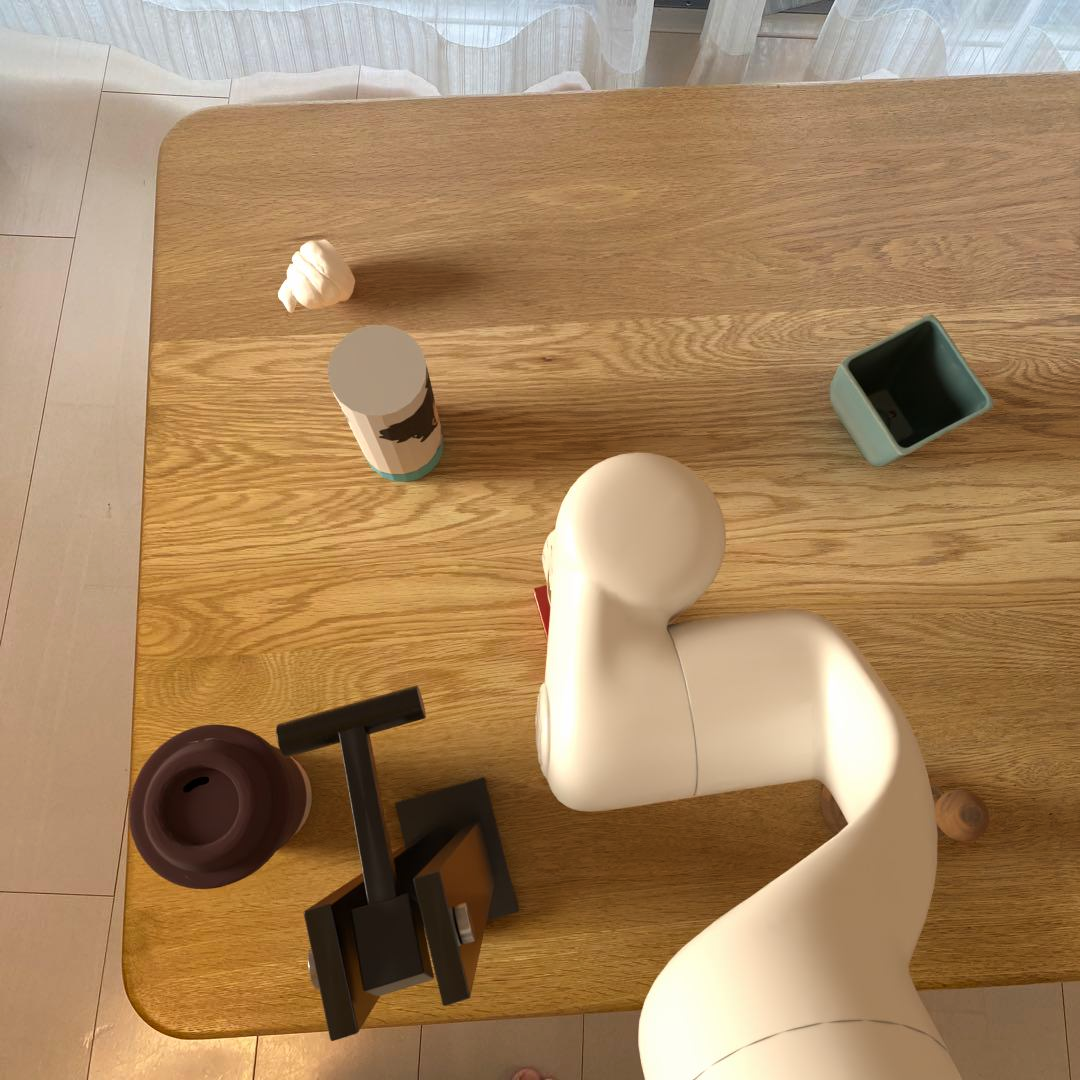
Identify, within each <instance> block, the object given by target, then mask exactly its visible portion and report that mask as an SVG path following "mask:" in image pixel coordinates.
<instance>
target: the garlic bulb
mask: <svg viewBox="0 0 1080 1080" xmlns="http://www.w3.org/2000/svg"><path fill="white" fill-rule="evenodd" d="M291 261H292V262H293V263H290V264H289V265H288V268H287V270H286V279H285V280H284V282H282V284H281V286H280V288H279V290H278V293H277V296H278V299H279V301H281V302H282V304H283V305H284V307H285V308H286V310H287V311H288V313H291V314H292V313H294V312H295V308H296V305H297V304H301V305H302V306H304V307H305V309H318V308H321V307H329V306H333V305H336V304H337V303H339V302H345V301H348V300H349V299H350V298H351V296H352V294H353V292H354V288H355V285H356V279H355V276H354V274H353V271H352V270H351V268H350V266H349V265H348V264H347V262H346V260H345V259H344V258H343V256H342V255H341V254H340V252H339V251H338V249H336V248H335V247H334V245H332V244H331V243H330V242H329V241H328V240H327V239H319V240H309V241H307V242H304V244H303V245H301V246H300V248H299V250H297V251H296V252H295V253H294V254H293V255H292V258H291Z"/></svg>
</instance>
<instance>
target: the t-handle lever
mask: <svg viewBox="0 0 1080 1080" xmlns="http://www.w3.org/2000/svg"><path fill="white" fill-rule="evenodd" d="M426 718H427V713H426V708H425V703H424V700H423V697H422V692H421V690H420V688H419V686H418V685H417V684H416V685H411V686H408V687H405V688H401V689H397V690H394V691H390V692H388V693H384V694H380V695H376V696H373V697H369V698H366V699H362V700H359V701H355V702H352V703H351V702H350V703H348V704H345V705H340V706H338V707H334V708H330V709H327V710H322V711H319V712H316V713H311V714H309V715H305V716H302V717H301V716H300V717H298V718H294V719H291V720H287V721H284V722H280V723H278V724H277V725H276V729H275V734H276V735H275V736H276V741H277V746H278V748H279V749H280V751H281V753H282V755H283V756H284V757H285V758H288V757H292V758H293V757H294V756H295V757H296V756H299V755H301V754H305V753H310V752H312V751H316V750H320V749H324V748H326V747H331V746H334V745H337V744H340V750H341V756H342V761H343V767H344V773H345V777H346V783H347V790H348V795H349V803H350V808H351V812H352V819H353V825H354V830H355V836H356V842H357V843H356V844H357V848H358V854H359V860H360V865H361V871H362V872H361V873H363V877H364V883H365V889H366V895H367V901H368V905H367V906H364V907H361V908H357V909H354V910H352V911H351V918H352V924H353V930H354V937H355V943H356V949H357V955H358V961H359V967H360V973H361V980H362V986H363V990H364V991H365V992H367V993H370V994H373V995H376V996H380V997H382V996H385V995H387V994H388V995H389V994H391V993H395V992H397V991H401V990H404V989H408V988H410V987H414V986H418V985H420V984H424V983H427V982H430V981H433V980H434V978H435V975H434V971H433V970H434V969H433V964H432V959H431V954H430V949H429V945H428V941H427V938H426V934H425V929H424V925H423V920H422V916H421V912H420V907H419V904H418V903H417V902H416V901H415V900H414V899H413V898H412V897H411V896H410V895H409V894H404V895H401V896H400V891H399V885H398V880H397V875H396V870H395V864H394V859H393V854H392V853H393V849H392V844H391V840H390V834H389V828H388V823H387V817H386V812H385V806H384V802H383V797H382V793H381V791H382V790H381V786H380V782H379V781H380V780H379V775H378V771H377V770H378V769H377V765H376V760H375V754H374V750H373V745H372V740H371V735H372V734H373V735H374V734H375V733H379V732H383V731H386V730H390V729H393V728H397V727H400V726H404V725H407V724H411V723H414V722H418V721H421V720H425V719H426Z"/></svg>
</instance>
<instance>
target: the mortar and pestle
mask: <svg viewBox="0 0 1080 1080" xmlns="http://www.w3.org/2000/svg"><path fill="white" fill-rule="evenodd" d="M930 787H931V791H932V796H933V800H934V805H935V815H936V824H937V834H938V840H939V839H941V838H942V837H944V836H945V835H946V836H947V837H949V838H950V839H951V840H954V841H957V842H961V843H962V842H963V843H968V842H974V841H977V840H979V839H980V838H982V837H983V836H984V835H985V834H986V833H987V831H988V830H989V827H990V825H991V824H990V822H991V813H990V811H989V808H988V805H987V804H986V803H985V801H984V799H982V798H981V797H980V796H979V795H978V794H976V793H975V792H973V791H971V790H968V789H963V788H957V789H952V790H948V791H946V792H944V790H943V789H941V788H940V787H939V786H937V785H935V784H933V783H931V782H930ZM820 809H821V813H822V816H823V819H824V821H825V823H826V825H827V826H828V828H829V830H830V831H831V832H832V833H833V834H834V836H836V835H837V834H838V833H839V832H840V831H841V830H843V829H844V828H845V827H846V826H847V825H848V822H847V820H846V819H845V817H844V815H843V813H842V811H841V809H840V807H839V806H838V804H837V802H836V801H835V799H834V797H833V795H832V794H831V792H830V791H829V790H828V788H827V787H826V786H825V785H824V784H823V786H822V789H821V794H820Z"/></svg>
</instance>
